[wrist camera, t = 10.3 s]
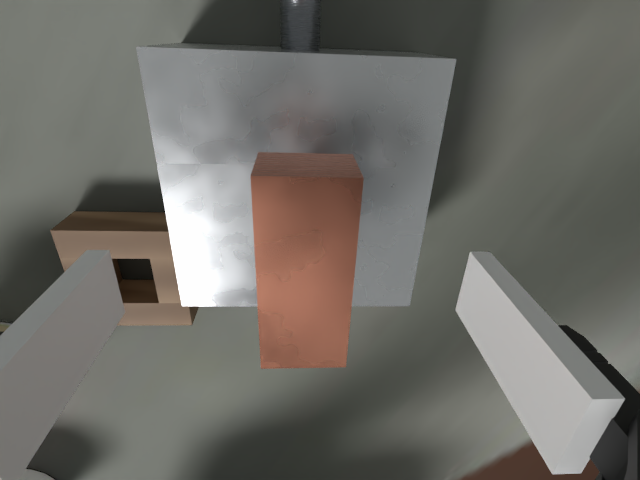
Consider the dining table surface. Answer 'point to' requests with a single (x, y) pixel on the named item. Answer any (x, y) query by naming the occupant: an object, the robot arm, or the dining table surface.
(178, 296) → the wooden square frame
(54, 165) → the dining table surface
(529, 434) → the robot arm
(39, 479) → the white cup
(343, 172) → the block
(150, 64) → the block
